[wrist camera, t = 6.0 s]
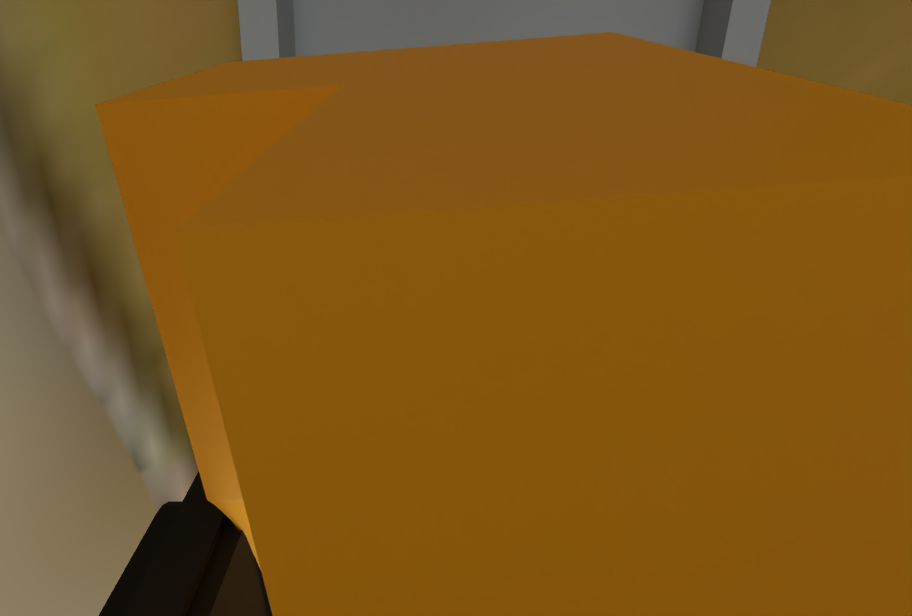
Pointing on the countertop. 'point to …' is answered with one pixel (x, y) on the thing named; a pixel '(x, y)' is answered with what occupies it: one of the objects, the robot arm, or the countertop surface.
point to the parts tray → (495, 24)
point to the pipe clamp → (537, 326)
